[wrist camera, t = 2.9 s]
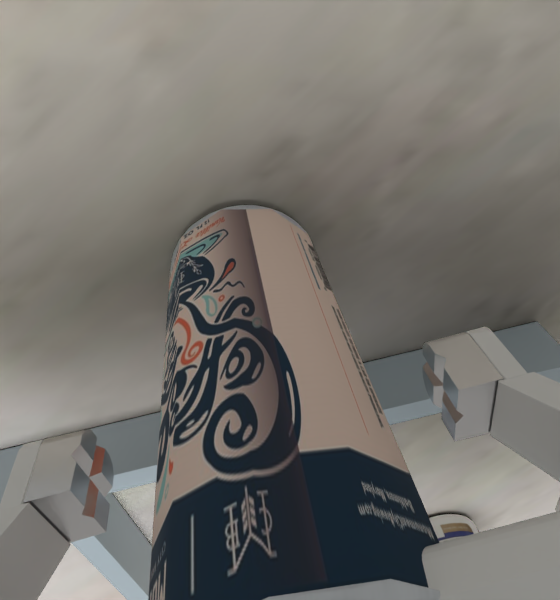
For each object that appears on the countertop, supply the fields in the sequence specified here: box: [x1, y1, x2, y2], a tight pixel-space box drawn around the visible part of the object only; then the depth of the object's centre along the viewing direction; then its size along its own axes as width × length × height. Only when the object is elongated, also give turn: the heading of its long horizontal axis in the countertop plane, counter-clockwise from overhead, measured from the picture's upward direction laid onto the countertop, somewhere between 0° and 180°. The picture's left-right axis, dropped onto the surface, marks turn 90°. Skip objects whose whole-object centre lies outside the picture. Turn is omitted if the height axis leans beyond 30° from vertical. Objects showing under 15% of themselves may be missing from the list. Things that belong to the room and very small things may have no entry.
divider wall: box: [0, 322, 560, 600], centre depth 22 cm, size 24×14×2 cm, turn 100°
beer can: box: [148, 205, 440, 600], centre depth 11 cm, size 5×5×12 cm
